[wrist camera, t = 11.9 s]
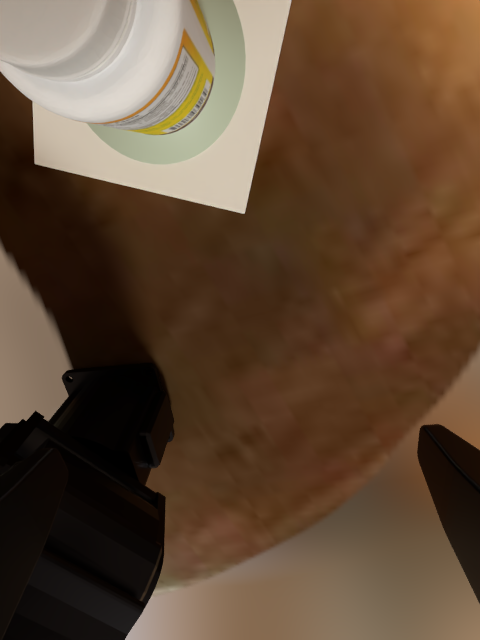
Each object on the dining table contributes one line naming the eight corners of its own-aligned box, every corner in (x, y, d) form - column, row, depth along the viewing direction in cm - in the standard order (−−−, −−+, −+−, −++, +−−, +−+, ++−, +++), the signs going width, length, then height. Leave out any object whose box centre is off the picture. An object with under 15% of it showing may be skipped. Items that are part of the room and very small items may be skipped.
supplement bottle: (94, -27, 14) (-210, -370, 5) (226, 1, 14) (168, -278, 5) (94, 124, 17) (-113, 82, 7) (208, 148, 17) (145, 134, 8)
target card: (244, 212, 19) (244, 214, 18) (41, 163, 18) (33, 164, 18) (305, -62, 14) (307, -73, 13) (34, -137, 14) (23, -151, 13)
